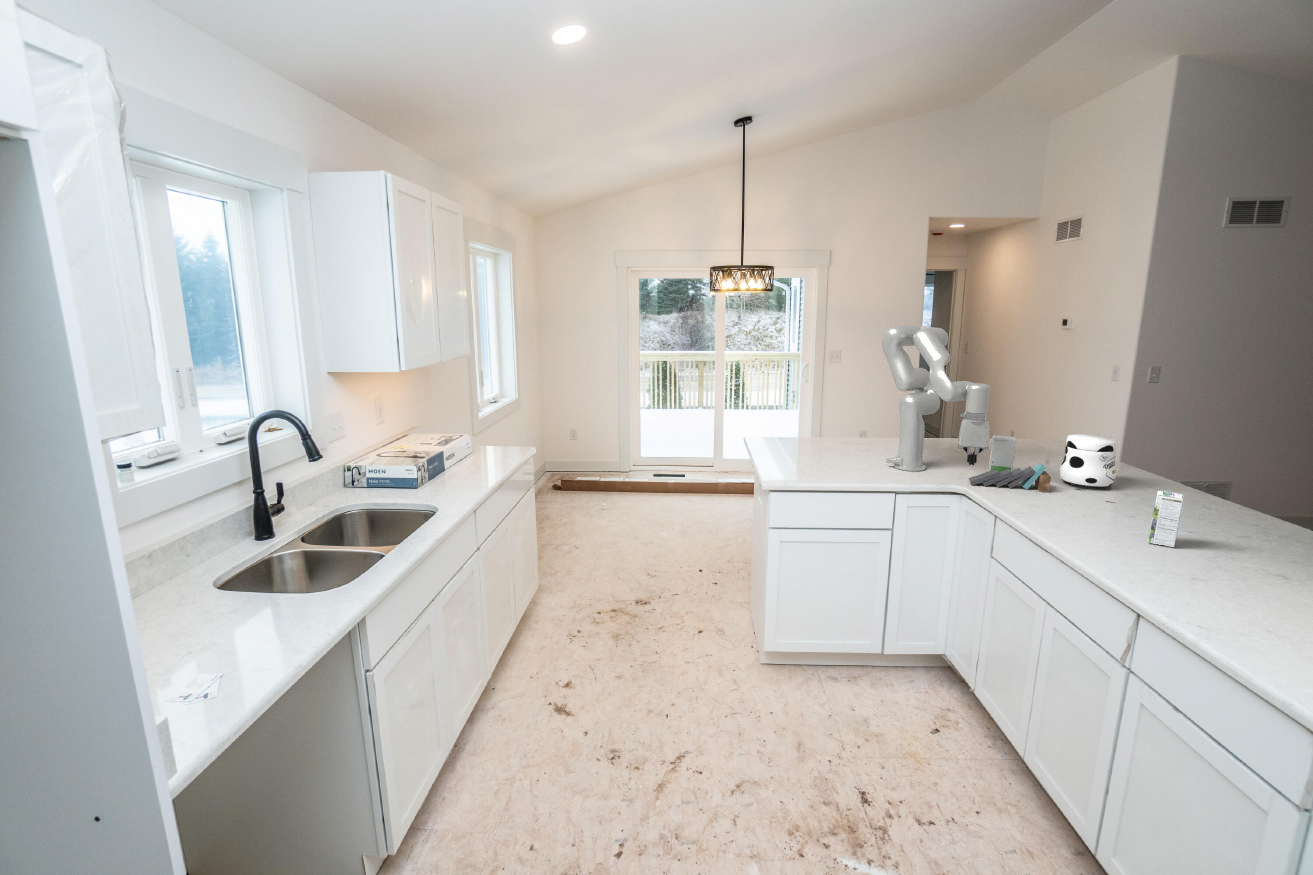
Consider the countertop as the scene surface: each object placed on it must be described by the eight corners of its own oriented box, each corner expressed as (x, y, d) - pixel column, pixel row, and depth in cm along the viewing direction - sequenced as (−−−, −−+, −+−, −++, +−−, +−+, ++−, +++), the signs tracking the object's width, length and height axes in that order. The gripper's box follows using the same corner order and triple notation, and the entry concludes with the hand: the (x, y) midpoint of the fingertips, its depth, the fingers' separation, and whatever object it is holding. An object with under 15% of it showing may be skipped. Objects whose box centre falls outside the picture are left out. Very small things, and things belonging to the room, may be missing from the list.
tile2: (983, 482, 229) (1010, 471, 225) (981, 479, 234) (1008, 468, 230) (985, 486, 229) (1012, 475, 225) (983, 483, 234) (1010, 472, 230)
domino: (1023, 487, 225) (1042, 465, 221) (1020, 483, 229) (1038, 462, 226) (1027, 489, 224) (1046, 468, 221) (1024, 486, 229) (1042, 465, 226)
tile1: (970, 481, 231) (998, 472, 227) (968, 478, 235) (995, 469, 231) (971, 485, 231) (999, 476, 227) (970, 482, 235) (997, 472, 231)
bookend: (1039, 491, 222) (1041, 475, 221) (1034, 485, 229) (1036, 470, 228) (1049, 492, 221) (1050, 476, 220) (1043, 486, 228) (1045, 471, 227)
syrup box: (1148, 538, 176) (1156, 489, 173) (1175, 542, 173) (1183, 493, 170) (1148, 544, 172) (1156, 494, 169) (1175, 548, 168) (1184, 498, 165)
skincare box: (988, 475, 244) (991, 437, 241) (988, 472, 250) (991, 434, 246) (1012, 478, 240) (1016, 439, 237) (1011, 474, 246) (1015, 436, 243)
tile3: (995, 483, 228) (1022, 470, 224) (993, 480, 232) (1019, 467, 228) (997, 487, 228) (1024, 474, 224) (995, 484, 232) (1021, 471, 228)
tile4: (1007, 485, 226) (1032, 469, 223) (1005, 481, 231) (1029, 466, 227) (1010, 488, 226) (1035, 472, 222) (1008, 484, 231) (1032, 469, 227)
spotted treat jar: (1124, 492, 220) (1131, 443, 216) (1070, 490, 223) (1076, 442, 220) (1100, 479, 237) (1106, 434, 233) (1050, 477, 240) (1056, 433, 236)
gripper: (954, 417, 227) (950, 465, 231) (1000, 419, 222) (995, 468, 226) (952, 414, 234) (948, 460, 238) (996, 416, 229) (991, 463, 233)
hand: (971, 464), depth 232 cm, fingers closed
